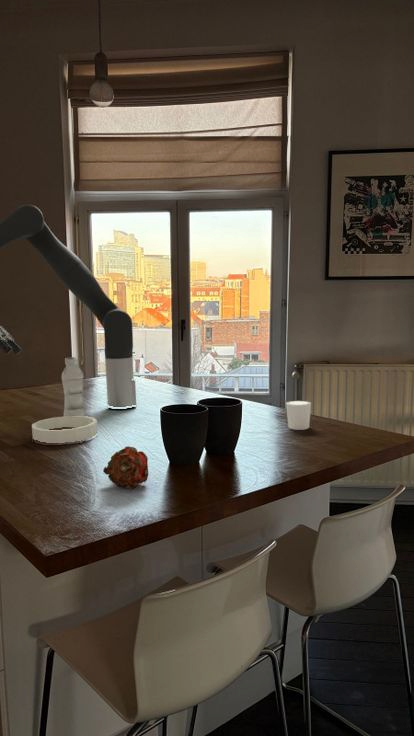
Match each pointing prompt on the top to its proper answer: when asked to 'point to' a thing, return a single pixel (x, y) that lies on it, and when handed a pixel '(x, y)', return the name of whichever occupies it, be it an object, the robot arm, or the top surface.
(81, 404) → the plastic bottle
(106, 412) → the top surface
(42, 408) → the top surface
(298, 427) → the white cup
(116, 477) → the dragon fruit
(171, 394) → the top surface
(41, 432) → the bowl
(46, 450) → the top surface
